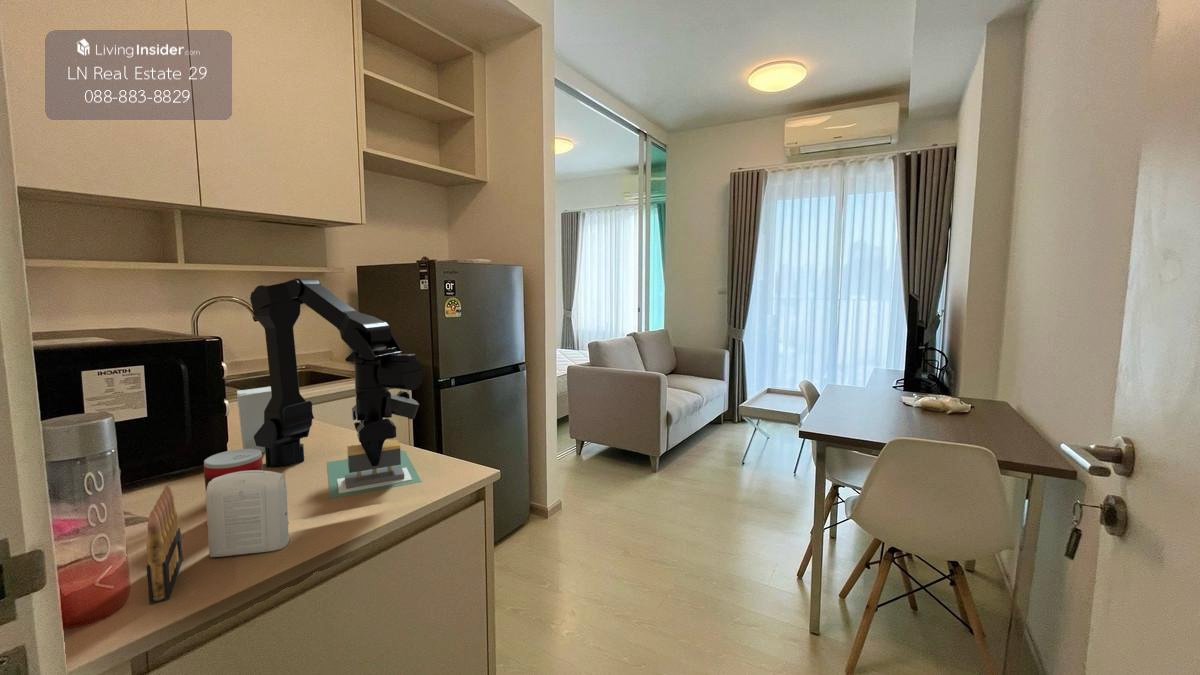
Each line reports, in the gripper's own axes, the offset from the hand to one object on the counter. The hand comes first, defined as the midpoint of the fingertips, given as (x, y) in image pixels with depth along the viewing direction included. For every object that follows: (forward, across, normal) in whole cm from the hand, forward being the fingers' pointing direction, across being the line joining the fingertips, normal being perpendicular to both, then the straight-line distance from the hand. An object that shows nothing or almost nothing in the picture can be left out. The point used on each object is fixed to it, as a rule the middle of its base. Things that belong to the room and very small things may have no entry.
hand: (374, 462), depth 96 cm
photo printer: (+6, -15, +19) cm, 25 cm away
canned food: (+6, -2, +22) cm, 23 cm away
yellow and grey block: (+1, 0, 0) cm, 1 cm away
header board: (+5, +5, 0) cm, 7 cm away
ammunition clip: (+6, -19, +28) cm, 34 cm away
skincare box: (+6, +35, +21) cm, 41 cm away
